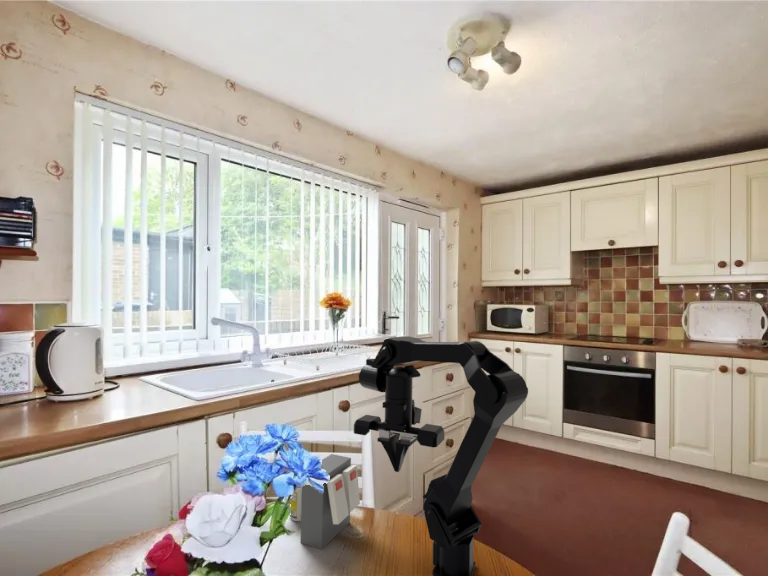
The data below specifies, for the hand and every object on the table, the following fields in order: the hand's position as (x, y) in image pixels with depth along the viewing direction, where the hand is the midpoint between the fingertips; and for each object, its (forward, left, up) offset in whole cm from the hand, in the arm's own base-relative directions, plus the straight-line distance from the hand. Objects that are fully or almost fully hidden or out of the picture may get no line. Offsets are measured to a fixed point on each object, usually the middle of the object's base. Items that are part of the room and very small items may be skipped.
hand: (397, 471), depth 87 cm
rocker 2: (+9, +3, -8) cm, 12 cm away
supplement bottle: (+22, +3, -13) cm, 26 cm away
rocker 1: (+8, +9, -8) cm, 14 cm away
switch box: (+13, +6, -13) cm, 20 cm away
